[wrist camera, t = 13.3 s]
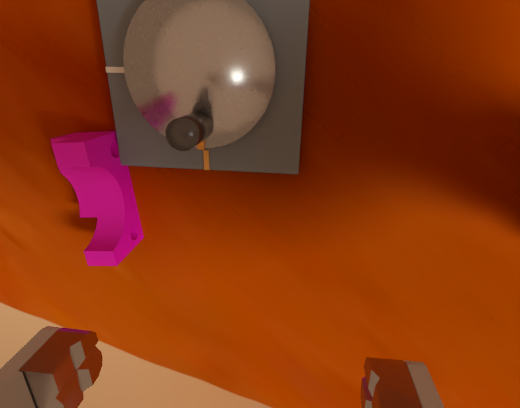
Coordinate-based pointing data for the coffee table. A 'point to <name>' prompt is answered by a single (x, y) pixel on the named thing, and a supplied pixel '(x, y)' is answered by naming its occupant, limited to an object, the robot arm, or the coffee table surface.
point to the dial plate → (253, 142)
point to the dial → (199, 69)
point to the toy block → (101, 193)
